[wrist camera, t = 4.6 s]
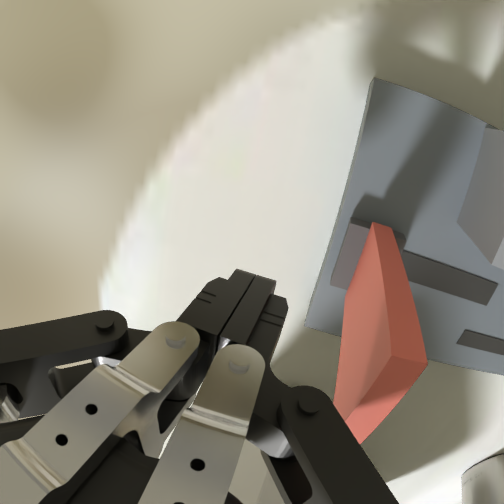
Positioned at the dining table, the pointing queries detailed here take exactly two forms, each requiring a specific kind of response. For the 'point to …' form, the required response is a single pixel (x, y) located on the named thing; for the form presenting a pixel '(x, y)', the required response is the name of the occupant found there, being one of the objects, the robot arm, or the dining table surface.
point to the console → (430, 221)
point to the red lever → (375, 327)
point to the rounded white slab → (253, 478)
